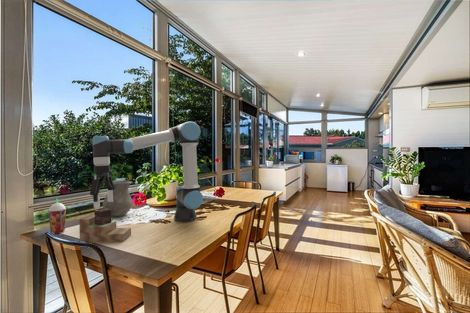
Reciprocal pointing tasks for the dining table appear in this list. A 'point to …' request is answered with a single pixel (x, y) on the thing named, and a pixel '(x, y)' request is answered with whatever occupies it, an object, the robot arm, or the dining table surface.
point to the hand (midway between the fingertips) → (104, 204)
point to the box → (102, 216)
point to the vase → (119, 199)
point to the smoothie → (57, 217)
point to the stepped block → (101, 231)
